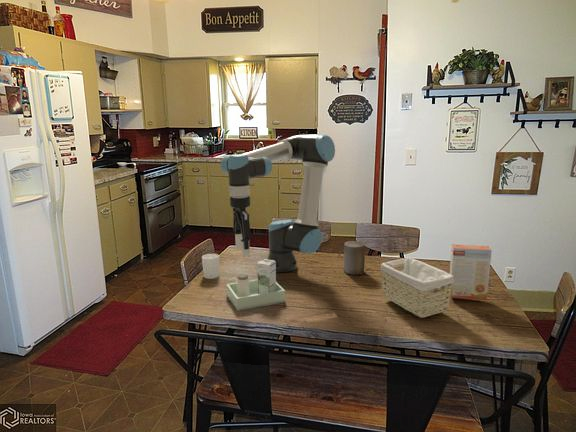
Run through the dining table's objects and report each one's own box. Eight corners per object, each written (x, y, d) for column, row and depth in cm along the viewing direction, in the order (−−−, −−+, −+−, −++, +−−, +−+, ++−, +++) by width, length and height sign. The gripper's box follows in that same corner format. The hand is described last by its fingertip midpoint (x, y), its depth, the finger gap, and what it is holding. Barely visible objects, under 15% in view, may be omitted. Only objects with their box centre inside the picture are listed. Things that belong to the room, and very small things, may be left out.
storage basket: (453, 312, 153) (456, 274, 150) (420, 321, 146) (423, 282, 143) (408, 289, 174) (410, 256, 171) (377, 297, 167) (379, 262, 164)
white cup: (216, 280, 186) (215, 259, 183) (200, 279, 187) (198, 258, 185) (222, 274, 193) (221, 254, 191) (206, 273, 195) (205, 253, 192)
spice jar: (247, 295, 167) (246, 273, 165) (251, 300, 162) (250, 277, 160) (235, 297, 165) (234, 275, 163) (239, 302, 160) (238, 279, 158)
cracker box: (484, 294, 168) (489, 245, 164) (487, 300, 163) (492, 250, 158) (447, 291, 172) (451, 243, 167) (449, 297, 166) (453, 247, 161)
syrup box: (276, 293, 169) (276, 260, 165) (269, 299, 163) (269, 264, 160) (264, 291, 171) (263, 258, 168) (257, 296, 166) (256, 262, 163)
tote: (271, 288, 176) (271, 277, 175) (285, 302, 162) (285, 290, 161) (226, 295, 169) (226, 284, 168) (237, 311, 155) (236, 298, 154)
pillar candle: (367, 270, 197) (368, 240, 194) (359, 276, 189) (360, 245, 186) (348, 266, 202) (349, 237, 199) (340, 272, 194) (340, 242, 191)
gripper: (223, 192, 163) (226, 246, 168) (238, 202, 143) (241, 263, 149) (241, 190, 166) (244, 244, 171) (258, 200, 146) (260, 260, 152)
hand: (242, 253), depth 160 cm, fingers open, 9 cm apart
